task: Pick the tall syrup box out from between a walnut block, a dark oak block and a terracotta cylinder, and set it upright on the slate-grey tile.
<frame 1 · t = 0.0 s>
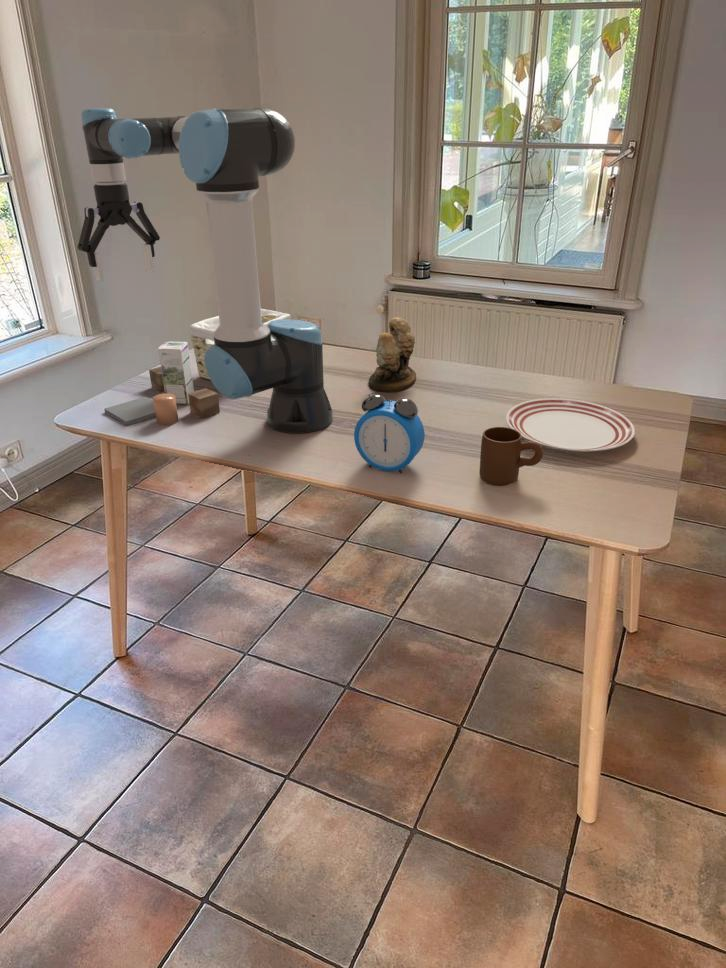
hand: (125, 275, 179), 28 cm above the table, tool pointing down, fingers open, 13 cm apart
terracotta cylinder: (167, 421, 170), on the table
dinner plate: (567, 435, 161), on the table
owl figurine: (393, 381, 192), on the table
storage basket: (245, 372, 200), on the table
dark oak block: (165, 387, 189), on the table
slate tile: (137, 412, 175), on the table
walnut block: (205, 413, 174), on the table
mug: (509, 481, 142), on the table
alarm clock: (389, 466, 148), on the table
syrup box: (181, 401, 181), on the table
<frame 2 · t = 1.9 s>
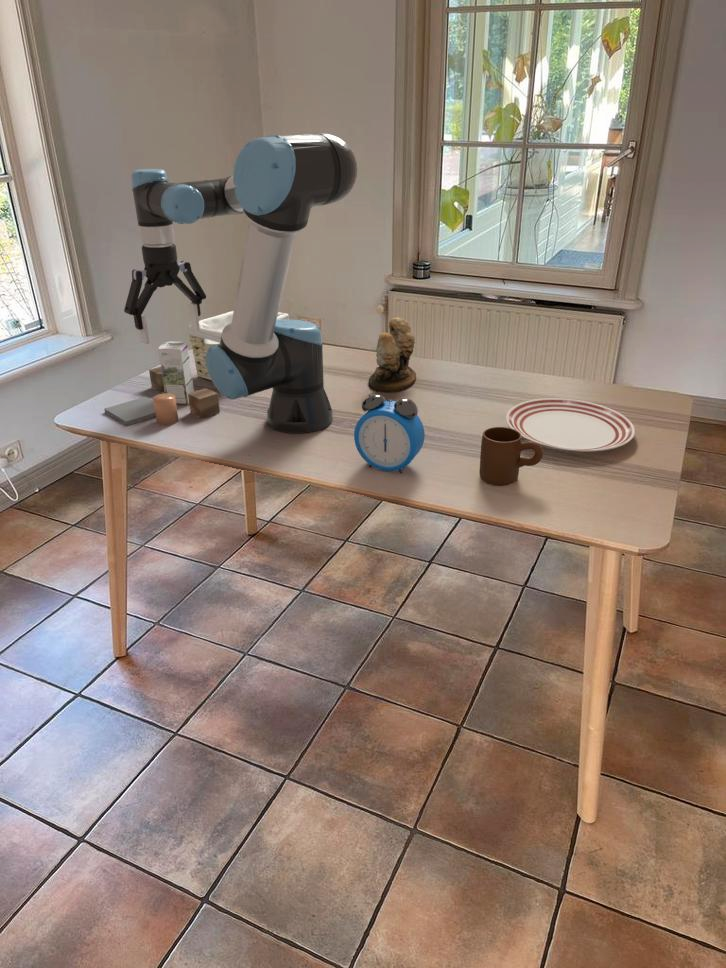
hand: (171, 336, 173), 16 cm above the table, tool pointing down, fingers open, 13 cm apart
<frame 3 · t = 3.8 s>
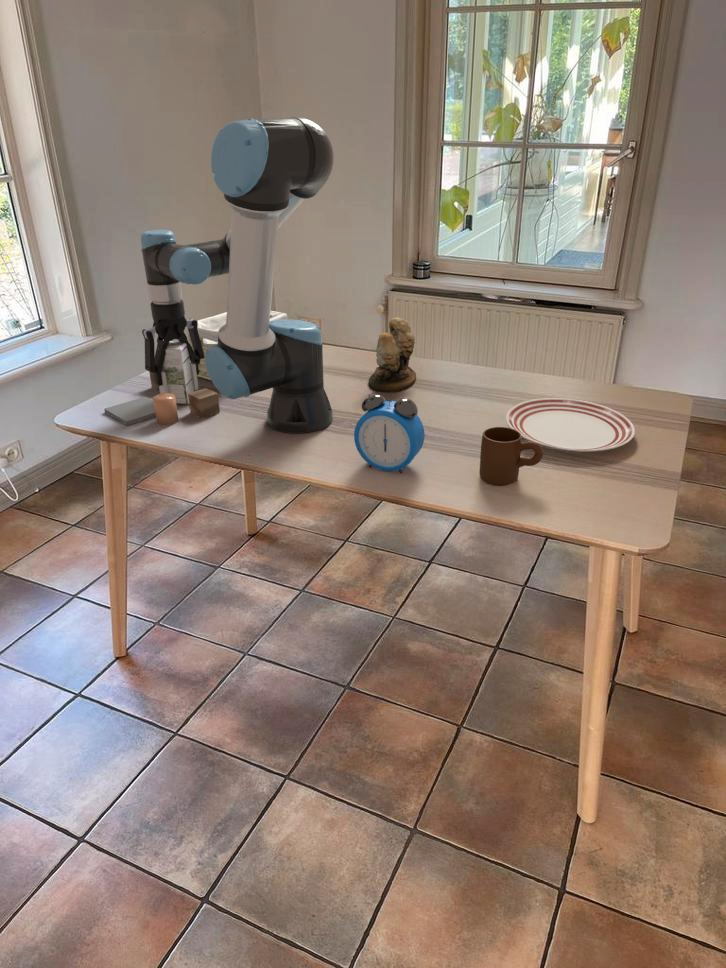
hand: (179, 392, 180), 2 cm above the table, tool pointing down, fingers closed on syrup box, 8 cm apart
syrup box: (181, 401, 181), on the table, touching gripper
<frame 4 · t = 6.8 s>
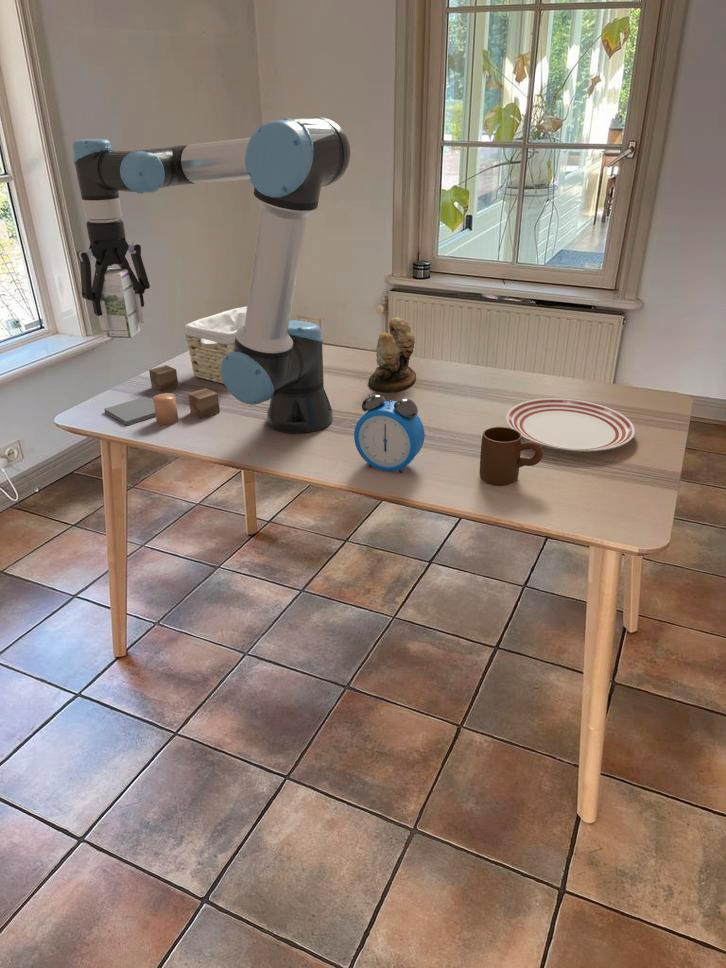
hand: (122, 325, 165), 21 cm above the table, tool pointing down, fingers closed on syrup box, 8 cm apart
syrup box: (124, 335, 166), point 19 cm above the table, touching gripper
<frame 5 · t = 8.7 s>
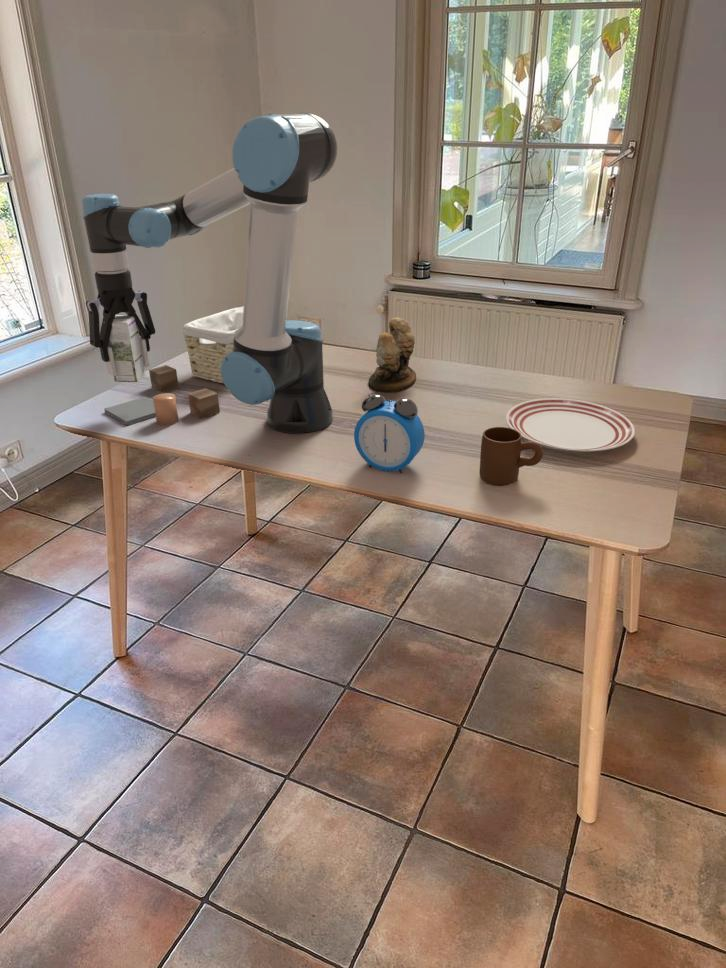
hand: (129, 369, 170), 11 cm above the table, tool pointing down, fingers closed on syrup box, 8 cm apart
syrup box: (130, 379, 171), point 8 cm above the table, touching gripper
when the fingers open (5 cm above the table, at t = 10.3 s): syrup box drops 1 cm, resting on slate tile.
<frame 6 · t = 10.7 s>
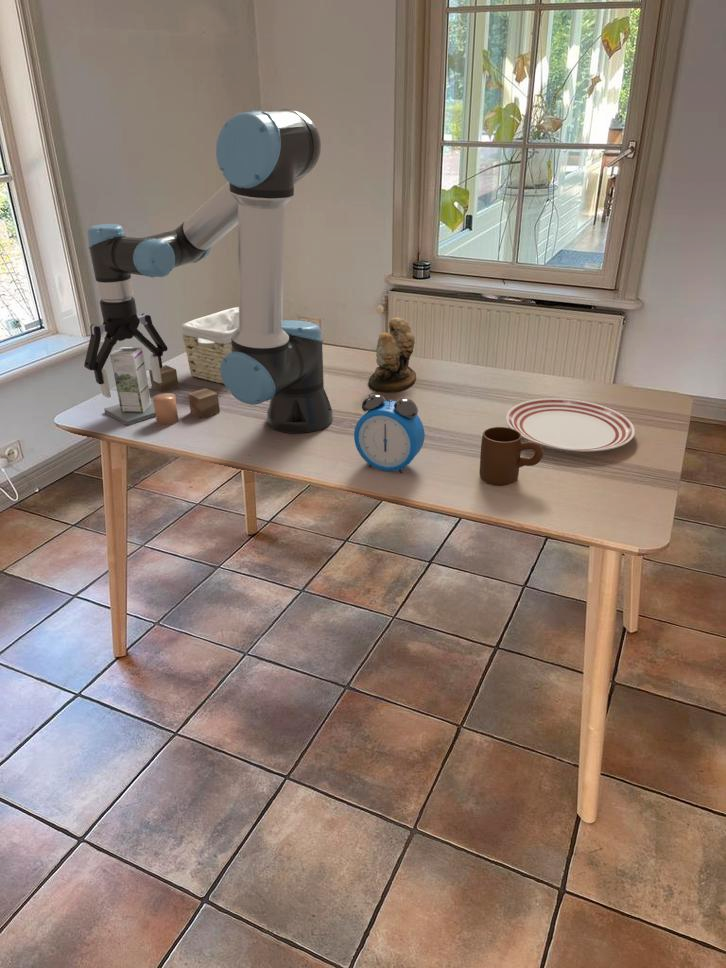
hand: (132, 388, 172), 6 cm above the table, tool pointing down, fingers open, 12 cm apart
syrup box: (136, 409, 174), point 1 cm above the table, touching slate tile
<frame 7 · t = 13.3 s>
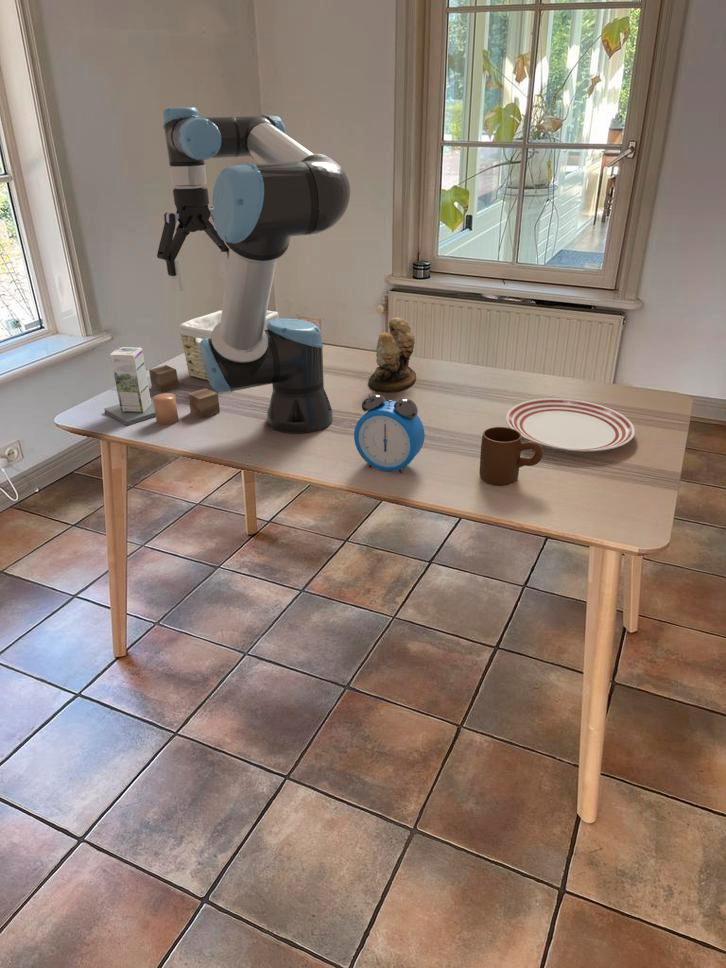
hand: (202, 284, 169), 28 cm above the table, tool pointing down, fingers open, 13 cm apart
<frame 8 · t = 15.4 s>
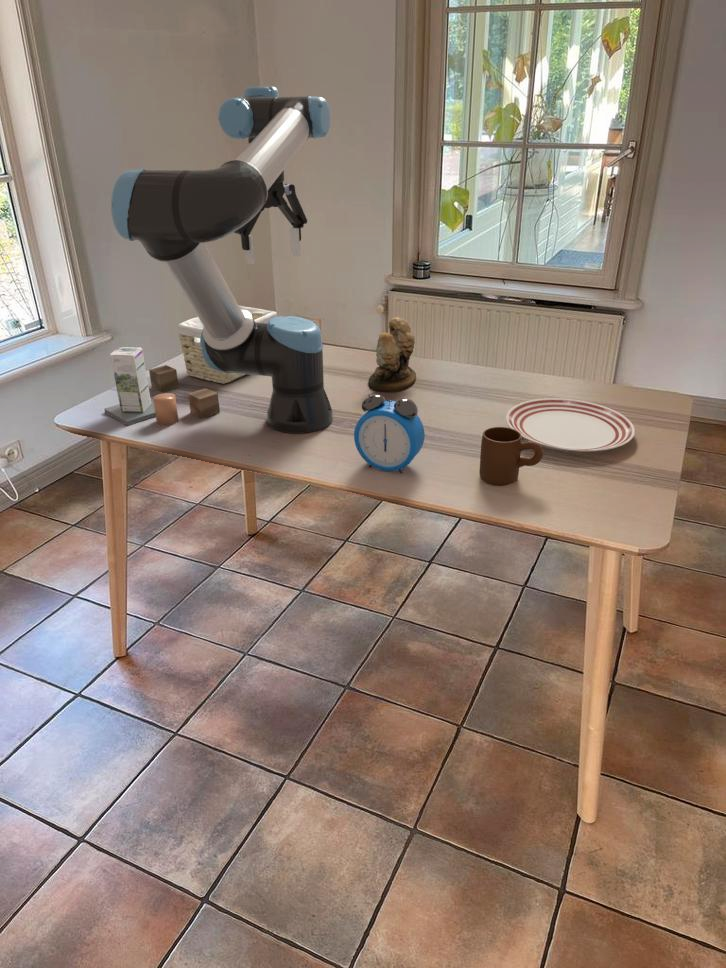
hand: (273, 259, 175), 32 cm above the table, tool pointing down, fingers open, 13 cm apart
at the end: syrup box inside the target area on the slate tile (0.0 cm from its centre), point 0.8 cm above the slate tile's base; syrup box tilted 0°; the gripper is holding nothing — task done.
